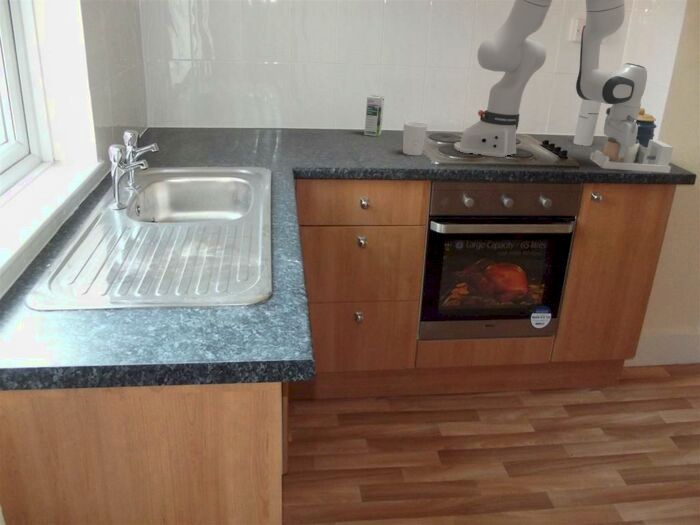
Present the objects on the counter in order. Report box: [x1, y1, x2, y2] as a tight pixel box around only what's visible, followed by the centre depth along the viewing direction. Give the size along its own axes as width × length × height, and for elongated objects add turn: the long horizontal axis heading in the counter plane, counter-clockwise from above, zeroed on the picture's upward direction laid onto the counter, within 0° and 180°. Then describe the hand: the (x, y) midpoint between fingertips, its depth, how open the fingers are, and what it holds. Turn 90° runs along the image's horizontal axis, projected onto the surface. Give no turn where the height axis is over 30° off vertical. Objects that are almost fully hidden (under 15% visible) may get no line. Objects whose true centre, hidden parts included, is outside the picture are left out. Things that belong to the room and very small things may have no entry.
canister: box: [636, 107, 658, 148], centre depth 241 cm, size 13×13×18 cm
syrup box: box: [363, 94, 385, 137], centre depth 242 cm, size 6×6×14 cm
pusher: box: [635, 144, 656, 164], centre depth 222 cm, size 10×10×7 cm
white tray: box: [589, 139, 674, 174], centre depth 222 cm, size 23×13×9 cm, turn 89°
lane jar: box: [620, 139, 640, 163], centre depth 223 cm, size 6×6×9 cm
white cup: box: [402, 121, 428, 156], centre depth 218 cm, size 8×8×10 cm
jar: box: [603, 137, 621, 162], centre depth 222 cm, size 6×6×9 cm
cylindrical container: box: [572, 98, 602, 147], centre depth 252 cm, size 7×7×25 cm
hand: (614, 153), depth 222 cm, fingers open, 8 cm apart
